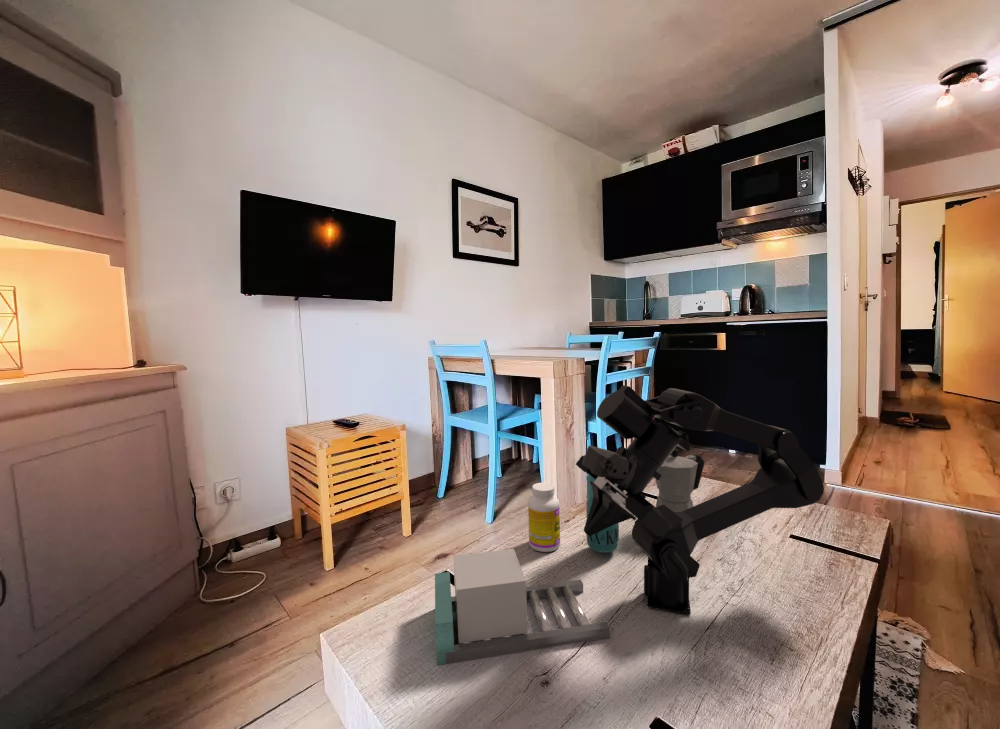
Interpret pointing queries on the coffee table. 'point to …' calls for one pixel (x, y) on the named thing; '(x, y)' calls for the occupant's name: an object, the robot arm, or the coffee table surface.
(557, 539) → the supplement bottle
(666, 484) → the coffeepot
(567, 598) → the roller bed
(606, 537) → the beverage bottle
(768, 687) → the coffee table surface
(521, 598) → the off-white matte cube
